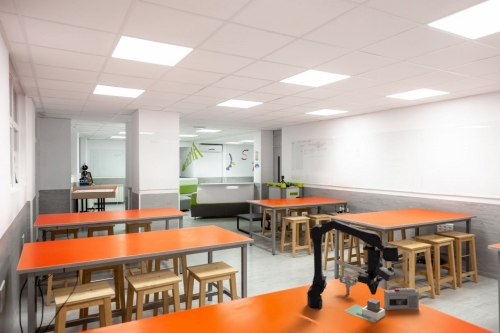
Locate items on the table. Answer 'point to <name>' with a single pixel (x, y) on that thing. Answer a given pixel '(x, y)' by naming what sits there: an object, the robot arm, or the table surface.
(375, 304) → the plug
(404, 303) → the cassette player
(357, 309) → the board
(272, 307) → the table surface
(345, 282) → the mechanical component
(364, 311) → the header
